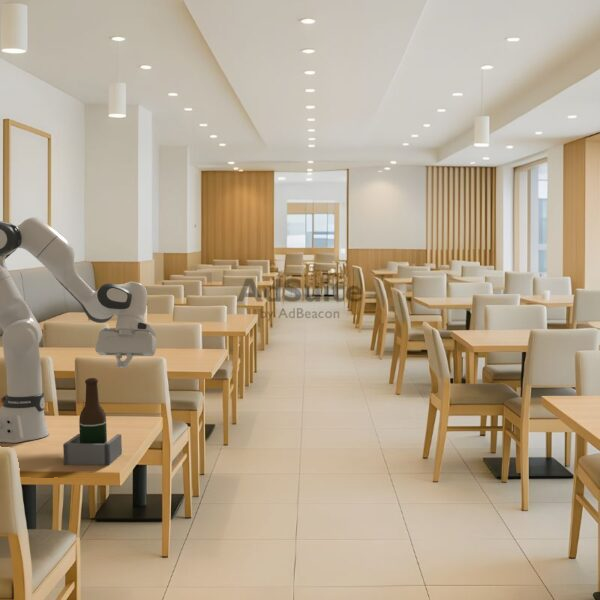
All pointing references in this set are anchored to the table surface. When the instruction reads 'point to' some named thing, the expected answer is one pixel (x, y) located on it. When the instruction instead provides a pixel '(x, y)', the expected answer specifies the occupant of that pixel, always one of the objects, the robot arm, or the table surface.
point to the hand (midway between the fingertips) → (122, 367)
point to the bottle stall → (91, 452)
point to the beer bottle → (92, 416)
